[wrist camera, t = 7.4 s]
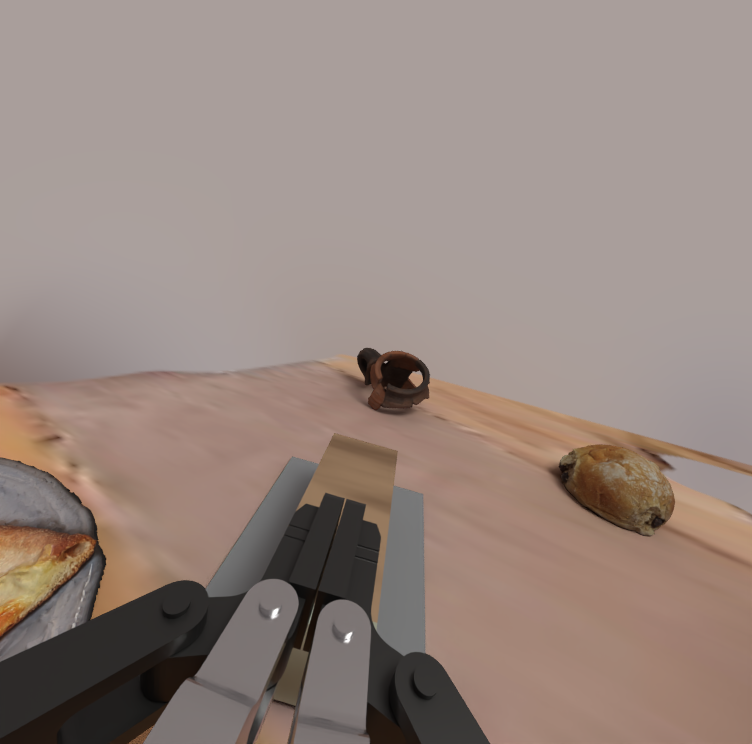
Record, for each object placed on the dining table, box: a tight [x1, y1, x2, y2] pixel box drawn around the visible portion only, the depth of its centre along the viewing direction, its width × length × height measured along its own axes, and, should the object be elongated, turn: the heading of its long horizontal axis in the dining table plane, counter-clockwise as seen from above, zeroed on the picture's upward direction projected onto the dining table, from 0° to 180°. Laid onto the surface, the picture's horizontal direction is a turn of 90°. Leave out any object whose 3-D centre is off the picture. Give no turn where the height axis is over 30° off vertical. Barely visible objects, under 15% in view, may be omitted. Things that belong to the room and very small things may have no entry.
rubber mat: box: [206, 457, 425, 656], centre depth 23 cm, size 16×12×1 cm
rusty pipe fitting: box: [357, 348, 430, 410], centre depth 48 cm, size 12×10×8 cm
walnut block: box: [273, 433, 398, 706], centre depth 21 cm, size 5×5×14 cm
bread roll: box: [559, 445, 675, 536], centre depth 37 cm, size 10×10×8 cm
